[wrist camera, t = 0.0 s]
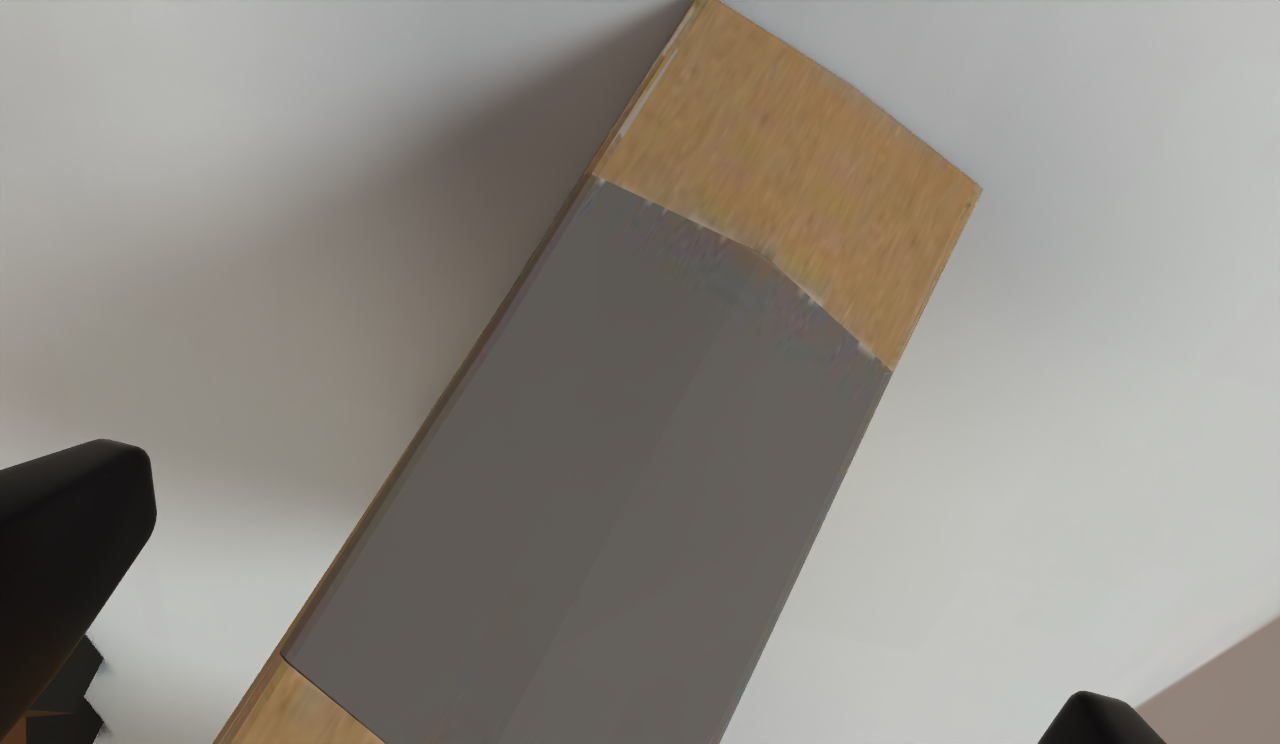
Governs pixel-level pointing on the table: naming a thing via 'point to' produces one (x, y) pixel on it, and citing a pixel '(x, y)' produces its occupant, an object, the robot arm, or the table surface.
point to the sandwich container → (636, 425)
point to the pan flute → (63, 705)
